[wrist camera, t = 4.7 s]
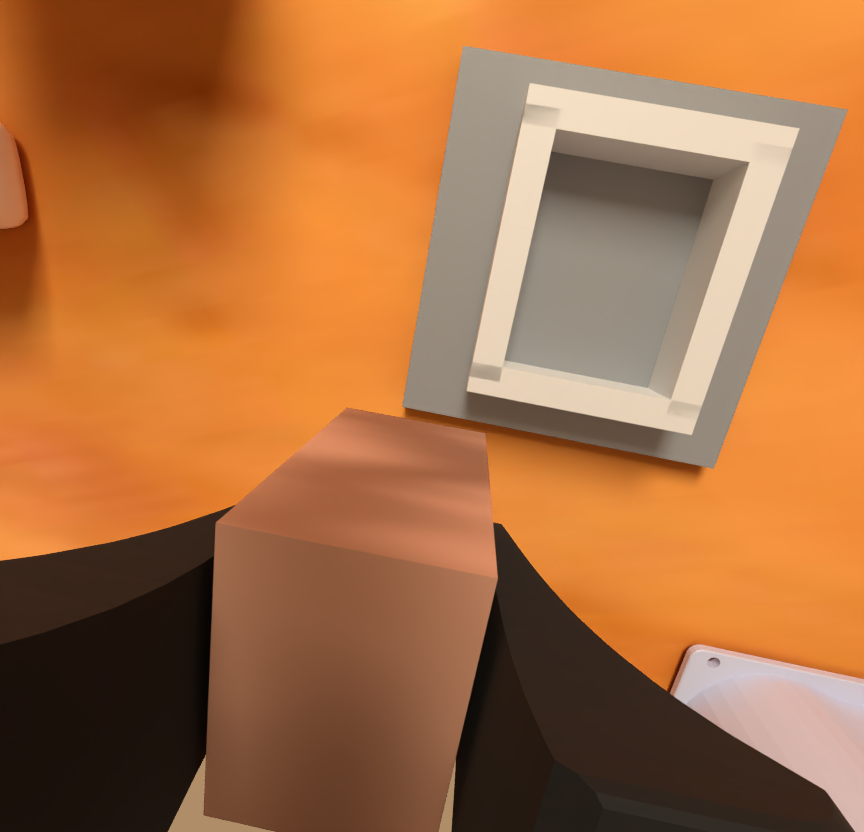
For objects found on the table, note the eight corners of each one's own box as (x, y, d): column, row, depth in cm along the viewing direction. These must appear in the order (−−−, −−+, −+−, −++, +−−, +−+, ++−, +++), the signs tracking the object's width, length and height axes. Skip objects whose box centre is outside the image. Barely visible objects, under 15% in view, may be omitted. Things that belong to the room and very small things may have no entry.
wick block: (485, 433, 11) (498, 578, 5) (450, 603, 13) (429, 866, 7) (347, 408, 11) (215, 522, 6) (327, 578, 13) (203, 815, 7)
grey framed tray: (828, 119, 15) (908, 79, 12) (703, 461, 18) (744, 490, 15) (464, 58, 15) (461, 7, 12) (405, 402, 18) (393, 420, 16)
